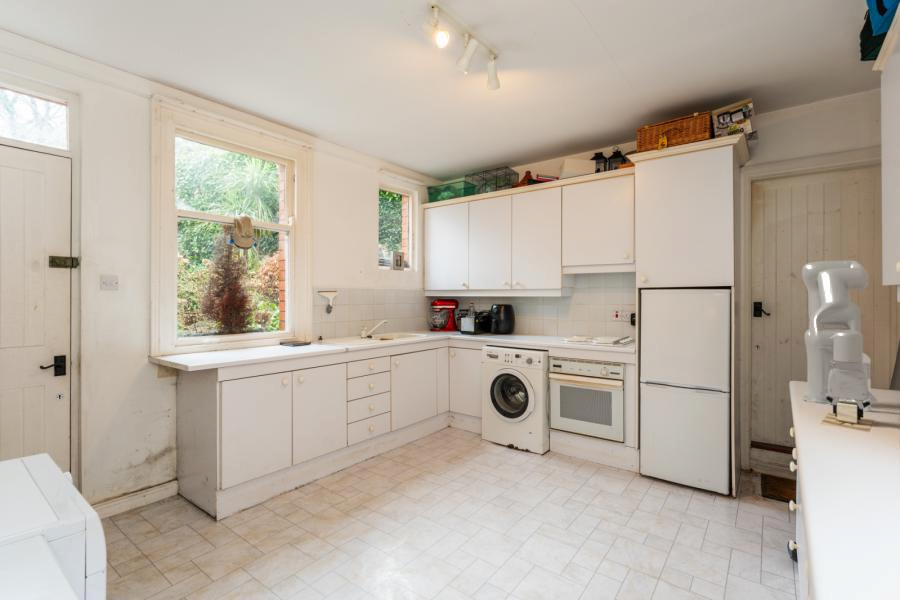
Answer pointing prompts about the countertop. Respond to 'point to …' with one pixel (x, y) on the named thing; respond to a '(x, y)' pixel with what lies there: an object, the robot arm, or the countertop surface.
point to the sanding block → (847, 411)
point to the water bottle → (867, 370)
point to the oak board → (861, 425)
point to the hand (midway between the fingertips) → (847, 417)
